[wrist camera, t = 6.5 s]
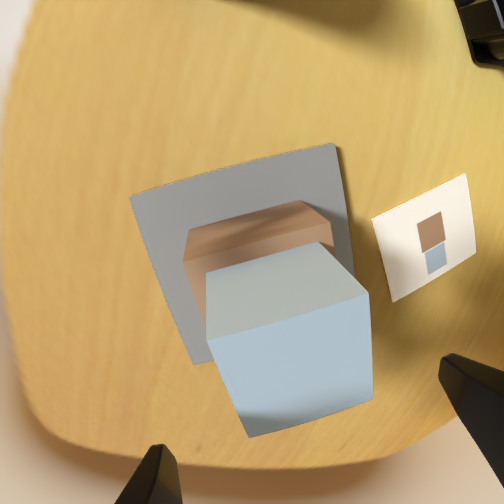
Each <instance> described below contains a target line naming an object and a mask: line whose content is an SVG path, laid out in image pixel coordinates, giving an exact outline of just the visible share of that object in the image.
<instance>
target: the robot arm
mask: <svg viewBox="0 0 504 504" xmlns="http://www.w3.org/2000/svg"><path fill="white" fill-rule="evenodd" d="M454 1H455V4H456V6H457V9H458V12H459V15H460V18H461V21H462V24H463V28H464V31H465V34H466V38H467V41H468V45H469V48H470V52H471V56H472V59H473V61H474V62H475V63H477V64H486V65H495V66H503V67H504V0H454ZM438 378H439V381H440V383H441V385H442V387H443V389H444V390H445V392H446V394H447V396H448V398H449V400H450V402H451V404H452V406H453V408H454V410H455V411H456V413H457V415H458V417H459V418H460V419H461V421H462V423H463V424H464V426H465V427H466V428H467V430H468V432H469V433H470V435H471V436H472V438H473V439H474V441H475V442H476V444H477V445H478V447H479V449H480V450H481V452H482V453H483V455H484V456H485V458H486V460H487V461H488V463H489V464H490V466H491V468H492V469H493V471H494V473H495V474H496V476H497V477H498V479H499V481H500V483H501V484H502V486H503V488H504V371H501V370H498V369H496V368H493V367H490V366H487V365H484V364H482V363H479V362H476V361H473V360H471V359H468V358H465V357H463V356H460V355H457V354H454V353H450V354H448V355H446V356H444V357H442V359H441V361H440V367H439V373H438ZM114 504H183V503H182V495H181V489H180V482H179V475H178V468H177V462H176V459H175V457H174V456H173V454H172V453H171V452H170V450H169V449H168V448H167V446H166V445H164V444H157V445H152V446H151V447H150V448H149V450H148V451H147V453H146V455H145V456H144V458H143V459H142V461H141V462H140V464H139V466H138V467H137V469H136V471H135V472H134V474H133V475H132V477H131V478H130V480H129V481H128V483H127V485H126V486H125V488H124V489H123V491H122V492H121V494H120V496H119V497H118V499H117V500H116V502H115V503H114Z"/></svg>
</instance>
